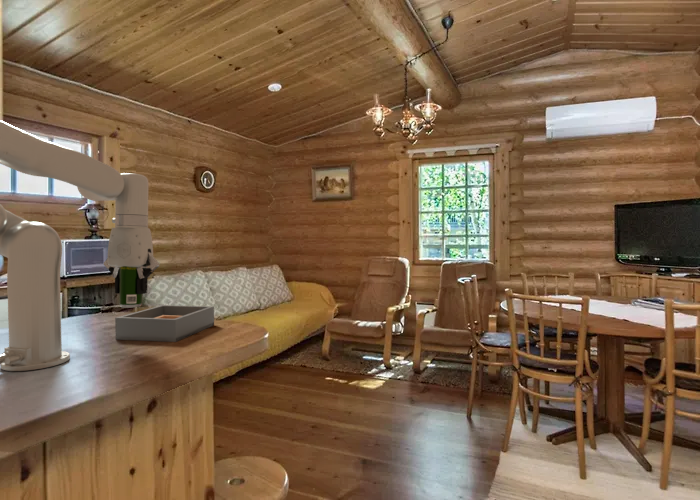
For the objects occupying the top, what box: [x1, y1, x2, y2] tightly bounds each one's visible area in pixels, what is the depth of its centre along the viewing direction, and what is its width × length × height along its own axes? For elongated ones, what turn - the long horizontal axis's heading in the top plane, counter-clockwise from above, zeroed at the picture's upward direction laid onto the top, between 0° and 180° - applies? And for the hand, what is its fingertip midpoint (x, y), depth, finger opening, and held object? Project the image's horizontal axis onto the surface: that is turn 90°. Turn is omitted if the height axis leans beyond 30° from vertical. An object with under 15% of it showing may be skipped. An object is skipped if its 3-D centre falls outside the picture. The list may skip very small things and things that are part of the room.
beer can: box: [118, 266, 144, 309], centre depth 111 cm, size 5×5×12 cm
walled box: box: [114, 304, 215, 343], centre depth 129 cm, size 22×18×6 cm
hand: (131, 292), depth 111 cm, fingers closed on beer can, 5 cm apart
